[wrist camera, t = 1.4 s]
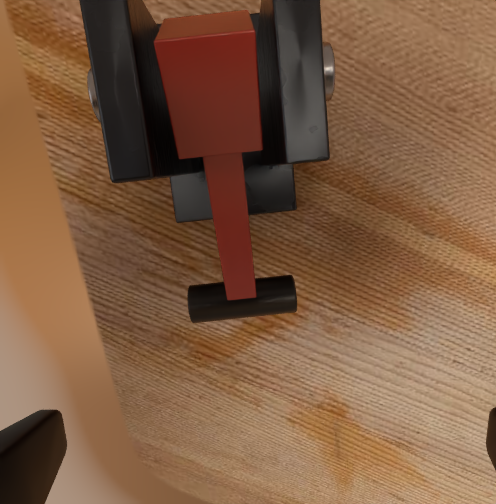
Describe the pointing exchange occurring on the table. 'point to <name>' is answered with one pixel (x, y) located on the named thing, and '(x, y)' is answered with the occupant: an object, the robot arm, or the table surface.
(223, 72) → the lever
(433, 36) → the table surface
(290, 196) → the bracket
